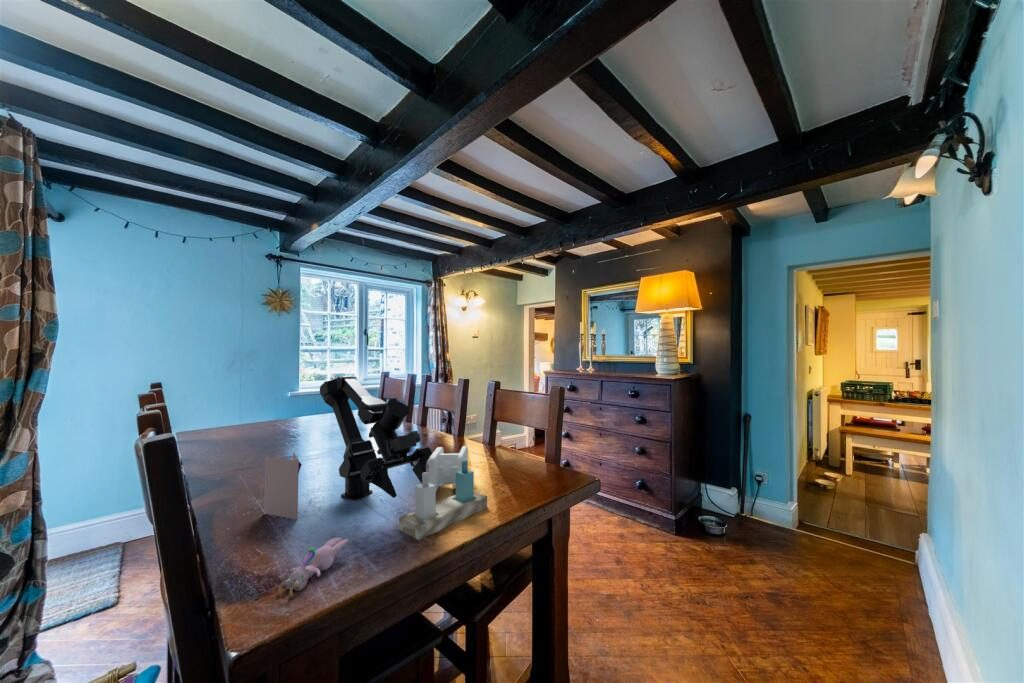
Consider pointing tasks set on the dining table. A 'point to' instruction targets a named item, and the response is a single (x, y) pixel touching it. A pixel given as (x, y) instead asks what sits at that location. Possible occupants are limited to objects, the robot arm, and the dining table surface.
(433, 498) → the grey plug
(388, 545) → the dining table surface
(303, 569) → the pink horned figurine
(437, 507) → the slot rack
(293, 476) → the greeting card
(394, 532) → the dining table surface
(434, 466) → the cable organizer
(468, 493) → the teal plug
